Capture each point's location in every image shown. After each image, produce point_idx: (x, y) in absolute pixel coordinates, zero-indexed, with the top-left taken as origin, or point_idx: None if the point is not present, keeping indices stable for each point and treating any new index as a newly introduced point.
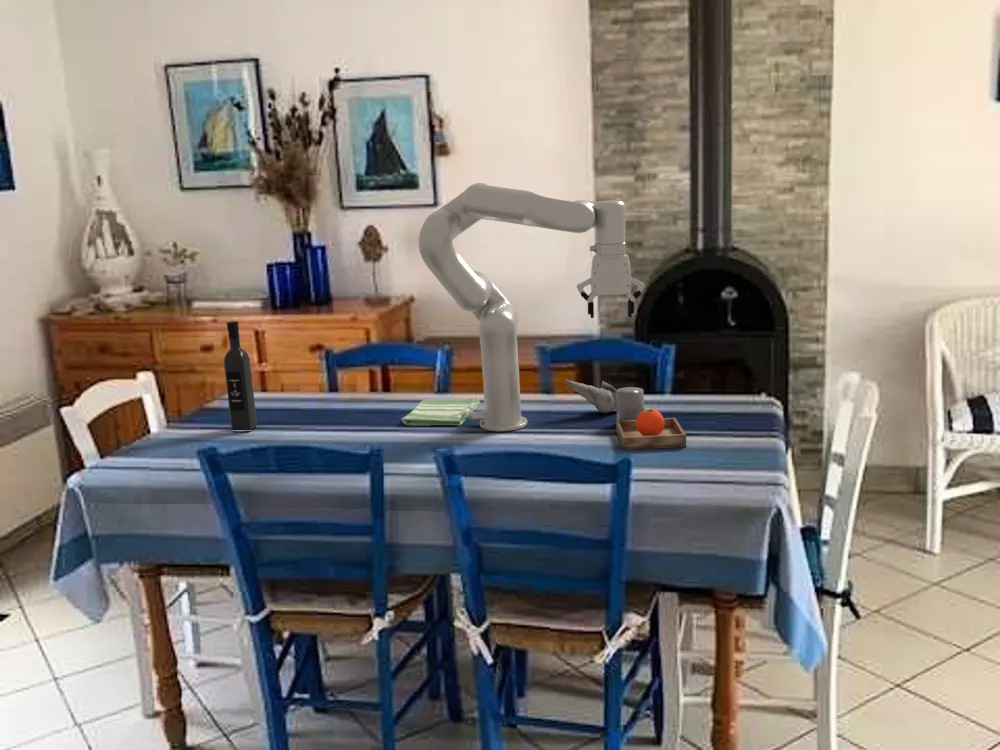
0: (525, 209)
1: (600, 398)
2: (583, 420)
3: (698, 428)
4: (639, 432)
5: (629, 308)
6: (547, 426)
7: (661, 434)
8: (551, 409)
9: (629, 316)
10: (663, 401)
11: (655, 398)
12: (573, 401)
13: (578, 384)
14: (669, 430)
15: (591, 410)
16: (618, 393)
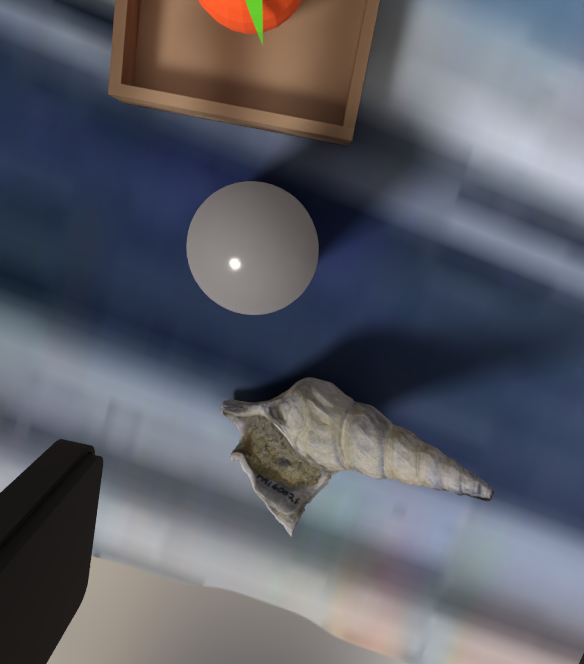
0: None
1: (339, 396)
2: (408, 344)
3: (39, 84)
4: (277, 66)
5: (16, 536)
6: (551, 316)
7: None
8: (464, 509)
9: (90, 454)
10: None
11: None
12: (365, 571)
13: (430, 462)
14: (158, 49)
15: None
16: (315, 230)
